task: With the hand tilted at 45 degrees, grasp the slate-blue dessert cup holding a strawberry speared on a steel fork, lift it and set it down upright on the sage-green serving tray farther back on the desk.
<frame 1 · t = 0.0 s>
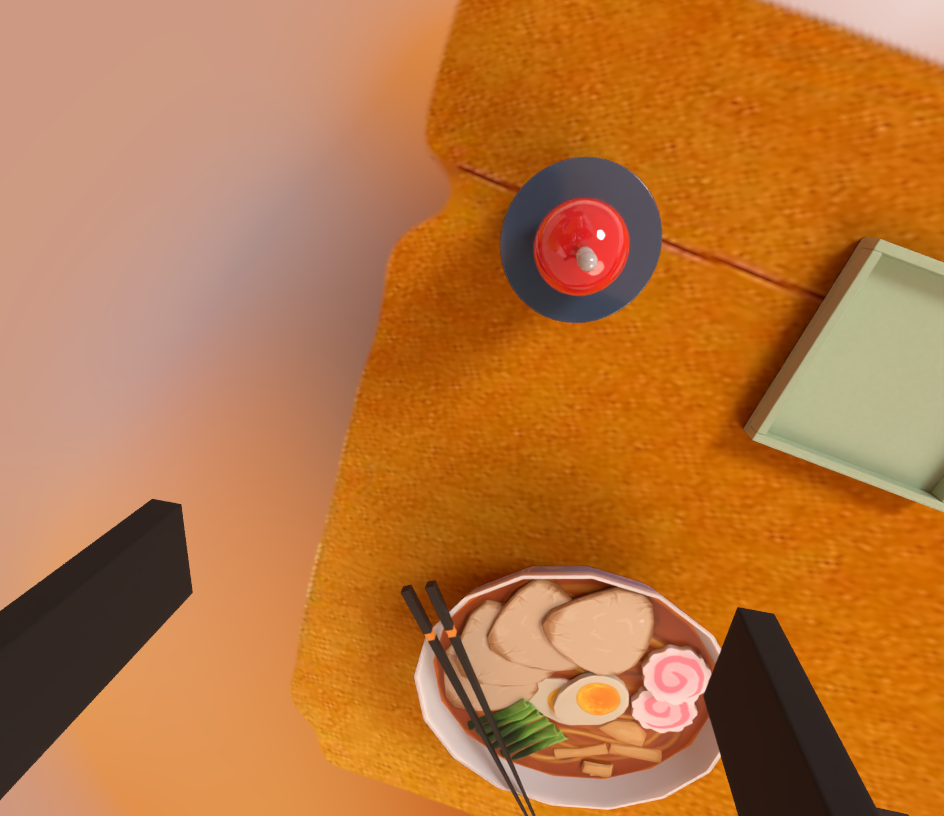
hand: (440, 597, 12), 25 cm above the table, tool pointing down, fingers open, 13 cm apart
serving tray: (896, 377, 33), on the table
ramen bowl: (567, 624, 44), on the table
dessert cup: (572, 230, 32), on the table
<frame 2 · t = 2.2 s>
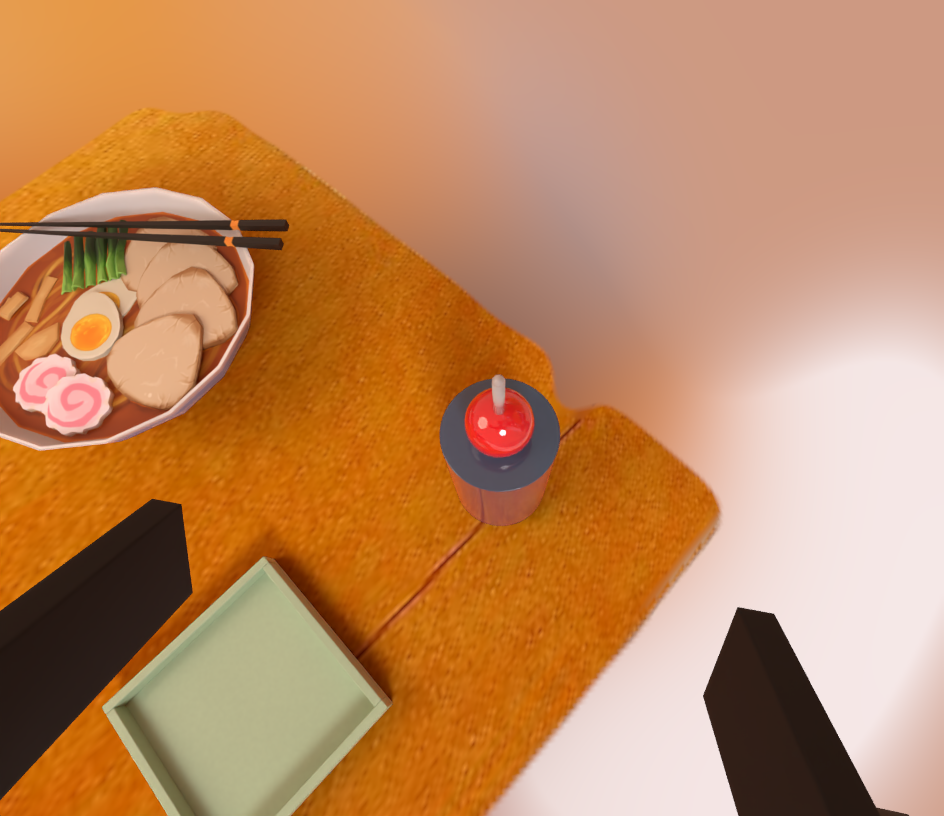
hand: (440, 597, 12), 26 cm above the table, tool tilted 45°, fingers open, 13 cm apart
serving tray: (254, 703, 35), on the table
ramen bowl: (164, 352, 46), on the table
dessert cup: (500, 480, 39), on the table
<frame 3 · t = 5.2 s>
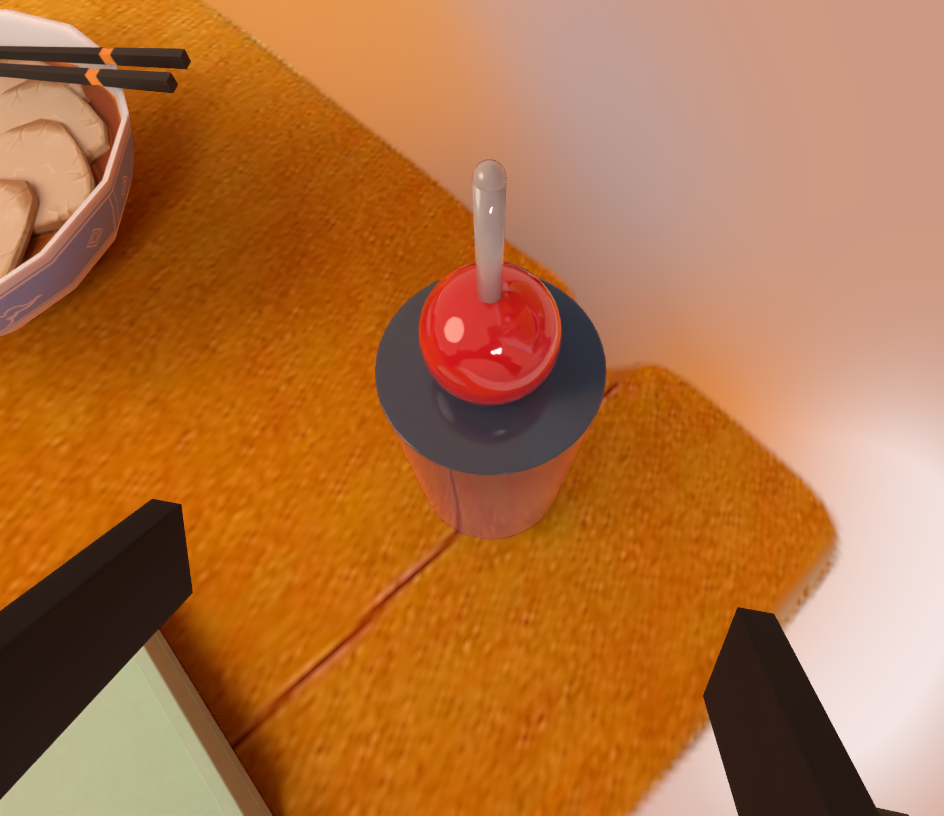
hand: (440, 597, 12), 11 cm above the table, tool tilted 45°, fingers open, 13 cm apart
ramen bowl: (18, 259, 32), on the table
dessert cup: (490, 468, 25), on the table
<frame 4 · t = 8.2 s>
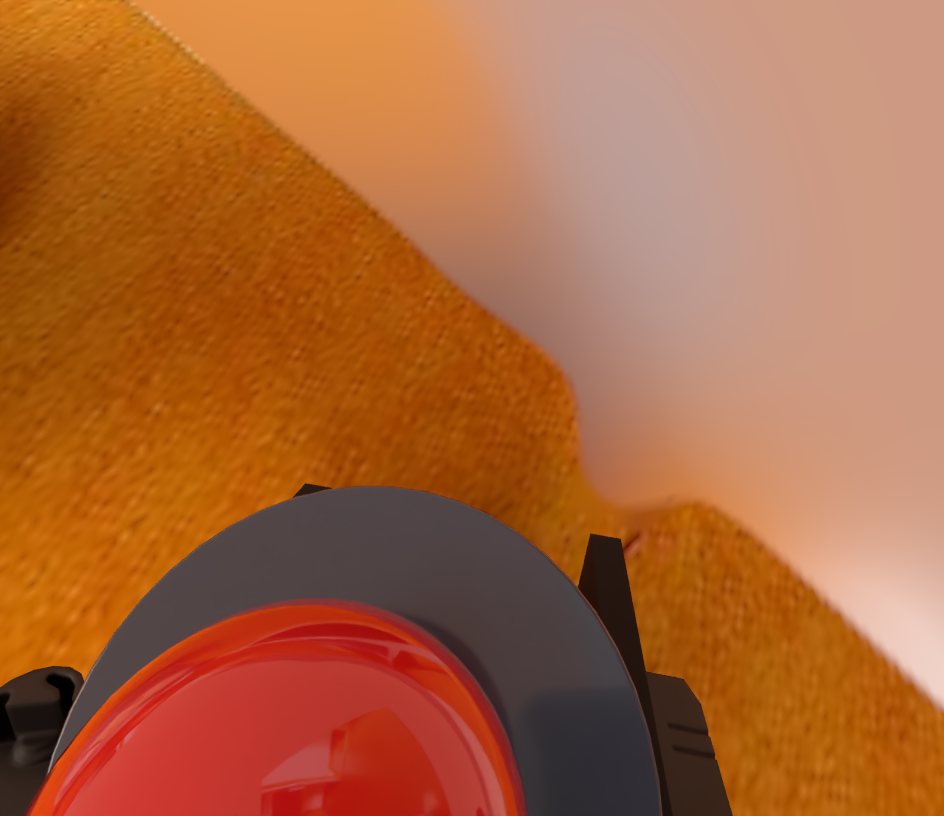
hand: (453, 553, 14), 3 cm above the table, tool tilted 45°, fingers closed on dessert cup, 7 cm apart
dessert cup: (438, 686, 16), on the table, touching gripper
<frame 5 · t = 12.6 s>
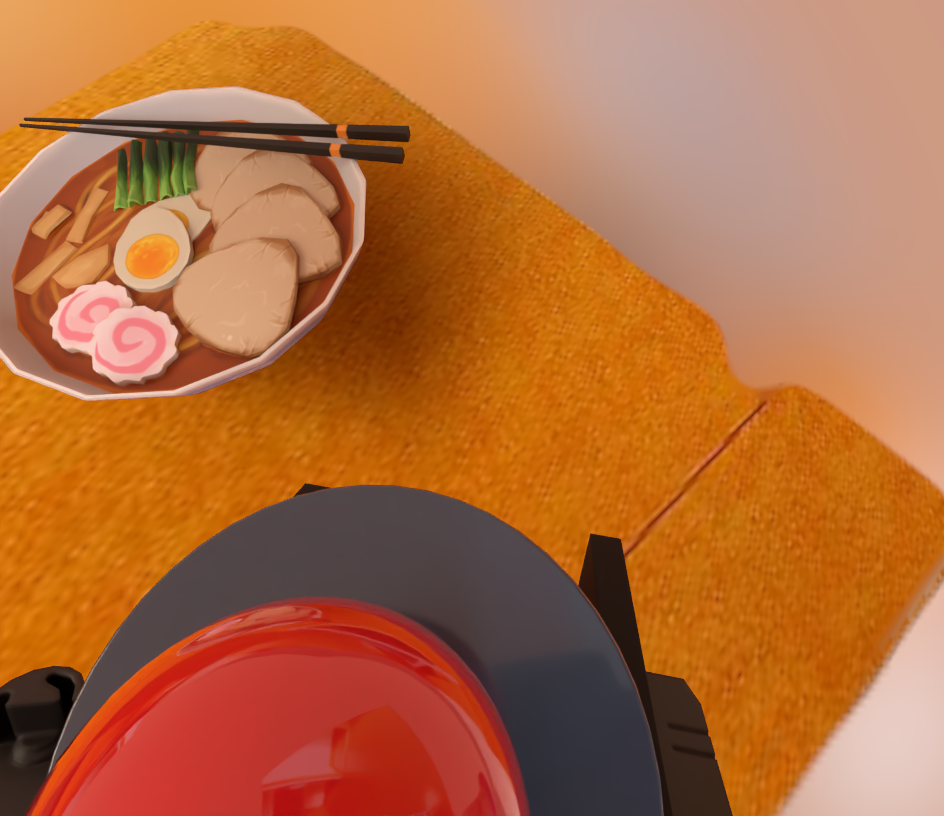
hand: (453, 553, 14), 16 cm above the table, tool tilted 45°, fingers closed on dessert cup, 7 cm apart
ramen bowl: (231, 296, 37), on the table
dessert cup: (438, 686, 16), point 12 cm above the table, touching gripper
when the fingers open (4 cm above the table, at t = 16.9 s): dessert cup stays where it is, resting on serving tray.
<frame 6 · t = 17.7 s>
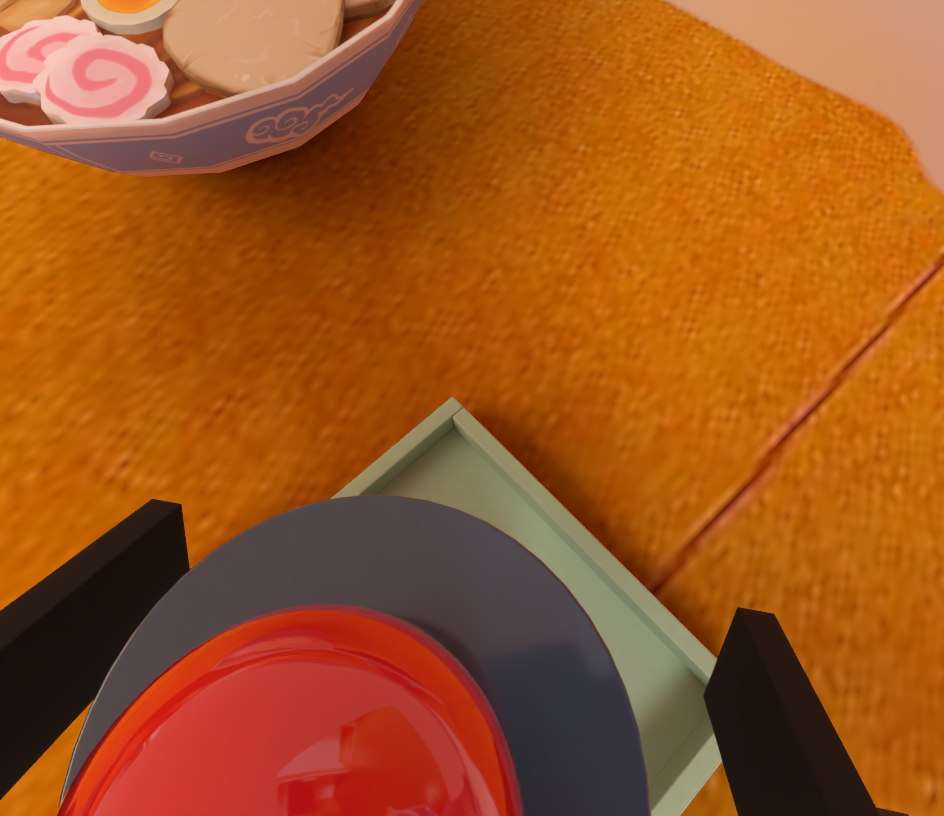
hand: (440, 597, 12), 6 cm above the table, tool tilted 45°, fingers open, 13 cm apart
serving tray: (440, 683, 17), on the table
ramen bowl: (243, 104, 28), on the table
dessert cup: (438, 686, 16), point 1 cm above the table, touching serving tray
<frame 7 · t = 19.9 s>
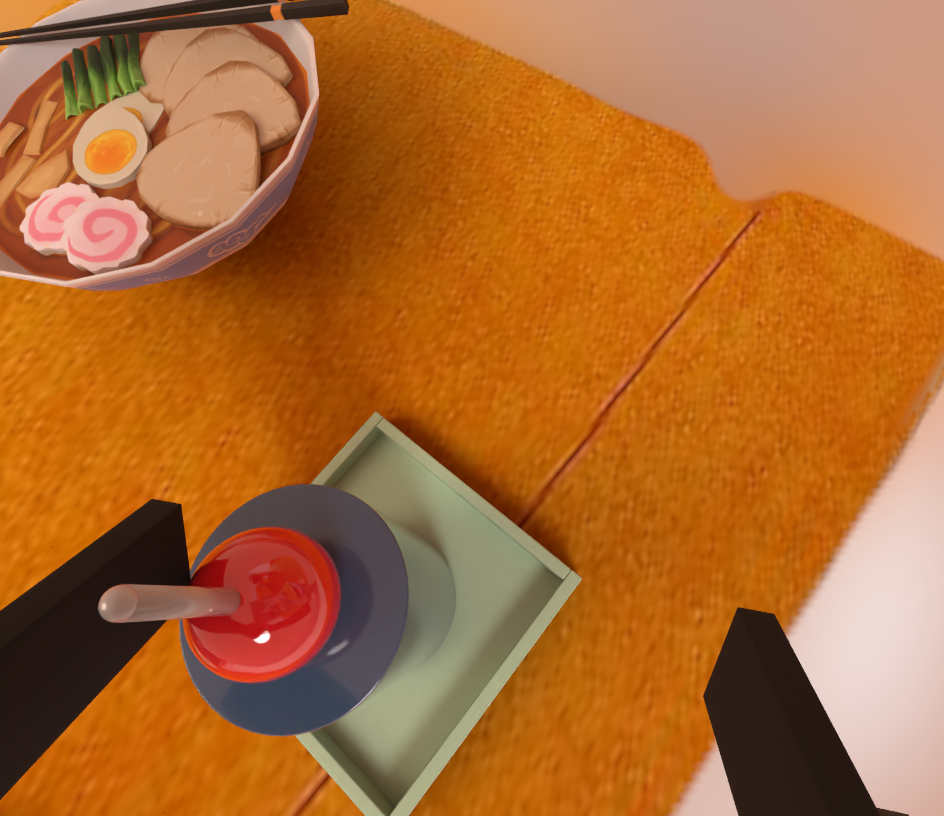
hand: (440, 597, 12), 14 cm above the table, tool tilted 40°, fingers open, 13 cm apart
serving tray: (390, 597, 26), on the table
ramen bowl: (202, 203, 36), on the table
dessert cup: (386, 598, 25), point 1 cm above the table, touching gripper, serving tray
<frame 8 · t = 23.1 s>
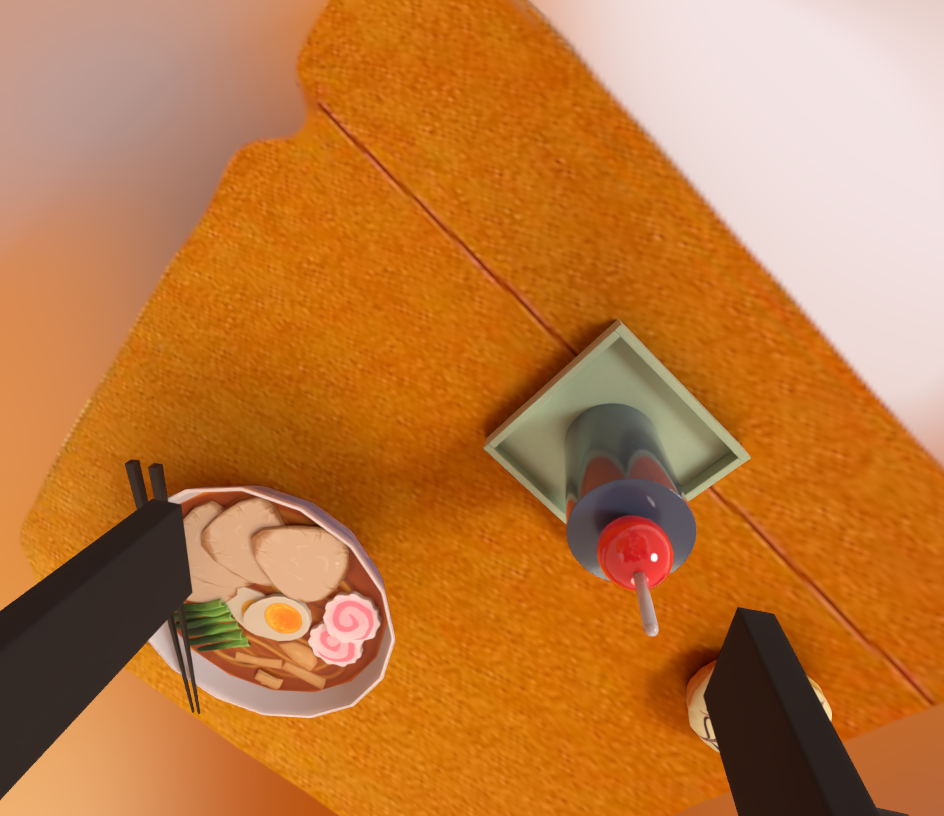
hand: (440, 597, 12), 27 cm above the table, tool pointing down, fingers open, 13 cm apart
serving tray: (609, 442, 39), on the table
ramen bowl: (297, 553, 48), on the table
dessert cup: (610, 446, 38), point 1 cm above the table, touching serving tray
decorated donut: (746, 687, 46), on the table
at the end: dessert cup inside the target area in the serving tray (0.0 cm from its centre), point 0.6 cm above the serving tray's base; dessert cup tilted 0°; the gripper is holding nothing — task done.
